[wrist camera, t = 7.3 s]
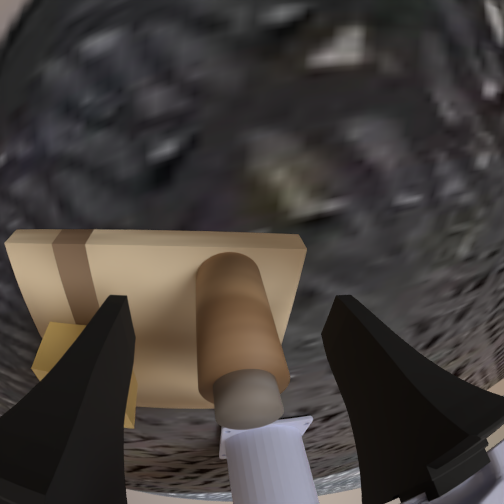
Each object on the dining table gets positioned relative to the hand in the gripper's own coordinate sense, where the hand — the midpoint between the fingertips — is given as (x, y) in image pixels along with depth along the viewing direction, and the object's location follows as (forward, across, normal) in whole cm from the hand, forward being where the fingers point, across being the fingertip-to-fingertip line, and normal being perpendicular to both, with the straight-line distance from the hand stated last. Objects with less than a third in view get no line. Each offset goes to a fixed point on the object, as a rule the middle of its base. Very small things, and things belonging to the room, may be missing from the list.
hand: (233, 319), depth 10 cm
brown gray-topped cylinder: (+2, 0, 0) cm, 2 cm away
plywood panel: (+3, +4, +5) cm, 7 cm away
